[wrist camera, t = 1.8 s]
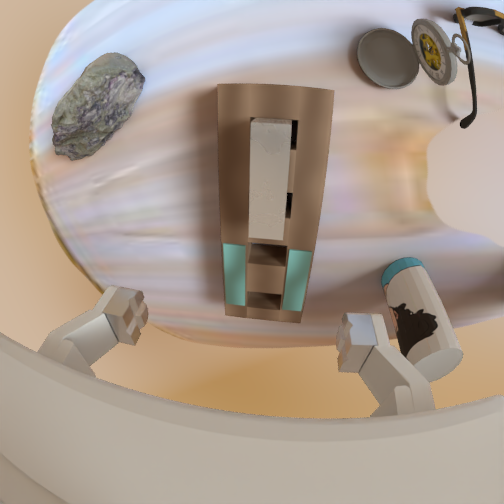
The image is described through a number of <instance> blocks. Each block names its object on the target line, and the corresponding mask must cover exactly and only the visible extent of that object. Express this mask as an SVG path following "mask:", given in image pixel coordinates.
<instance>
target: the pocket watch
mask: <svg viewBox="0 0 504 504" xmlns="http://www.w3.org/2000/svg"><path fill="white" fill-rule="evenodd" d="M411 35H412V42H413V44H411V43H410V42H409V41H408V40H407V39H406V38H405V37H404V36H403V35H401V34H400V33H398V32H396V31H394V30H390V29H386V28H378V29H374V30H372V31H369V32H367V33H366V34H365V35H364V36H363V37H362V39H361V40H360V42H359V43H358V48H357V56H358V61H359V64H360V66H361V68H362V70H363V72H364V73H365V75H367V76H368V78H370V79H371V80H372V81H373V82H374V83H376V84H378V85H380V86H382V87H385V88H388V89H400V88H404V87H406V86H408V85H410V84H411V83H412V82H413V81H414V80H415V79H416V76H417V74H418V71H419V63H420V64H421V66H422V68H423V69H424V71H425V72H426V74H427V75H428V76H429V77H430V78H431V79H432V80H433V81H434V82H435V83H437V84H438V85H447V84H450V83H451V82H453V81H454V79H455V78H456V74H457V60H456V57H458V59H459V60H460V61H461V62H462V63H463V64H466V65H467V64H469V63H470V58H471V55H470V50H469V47H468V45H467V43H466V41H465V40H464V39H463V38H462V37H461V36H460V35H459V34H454V35H453V37H452V43H451V42H450V40H449V38H448V36H447V35H446V33H445V32H444V31H443V30H442V28H441V27H440V26H439V25H438V24H436V23H435V22H433V21H431V20H427V19H417V20H416V21H414V23H413V25H412V32H411ZM456 37H459V38H460V39H461V40H462V41H463V42H464V44H465V46H466V48H467V52H468V59H467V61H463V60H462V59H461V58H460V57H459V56H460V52H461V48H460V47H459V46H457V44H455V38H456ZM427 38H428V39H427ZM427 43H428V45H429V48H430V47H431V48H430V49H429V50H428V45H427ZM432 50H433V51H432ZM430 54H431V55H430ZM433 60H434V61H435V62H434V61H433ZM440 60H441V63H440ZM437 61H438V63H437ZM437 64H438V66H437ZM439 66H440V67H439Z"/></svg>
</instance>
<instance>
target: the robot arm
mask: <svg viewBox="0 0 504 504" xmlns="http://www.w3.org/2000/svg"><path fill="white" fill-rule="evenodd" d="M143 299H144V295H143V292H142V291H140V290H135V289H129V288H124V287H118V286H114V285H111V286H109V287H108V288H107V289H106V291H105V292H104V294H103V295H102V296H101V298H100V299H99V301H98V302H97V304H96V305H95V307H94V308H93V310H88V311H86V312H85V313H83V314H81V315H79V316H78V317H76V318H74V319H72V320H71V321H69V322H67V323H65V324H64V325H62V326H60V327H59V328H57V329H55V330H53V331H52V332H50V334H49V335H48V337H47V338H46V340H45V341H44V343H43V344H42V346H41V347H40V349H39V350H38V352H35V351H33V350H31V349H29V348H27V347H25V346H23V345H22V344H20V343H18V342H16V341H14V340H12V339H10V338H9V337H7V336H5V335H4V334H2V333H0V504H504V396H502V395H495V396H491V397H487V398H485V399H480V400H477V401H473V402H469V403H464V404H460V405H456V406H451V407H446V408H441V409H435V404H434V400H433V395H432V391H431V387H430V383H429V382H428V380H427V379H426V378H425V377H424V376H423V375H422V374H421V373H420V372H419V371H418V370H417V369H416V368H415V367H414V366H413V365H412V364H411V363H410V362H409V361H408V360H407V359H406V358H405V357H404V356H403V355H402V354H401V353H400V352H399V351H398V350H397V349H396V348H395V347H394V346H390V342H389V338H388V334H387V330H386V327H385V323H384V319H383V316H382V314H374V313H369V314H368V313H347V312H345V314H344V315H343V318H342V323H343V324H342V325H341V326H339V329H338V332H337V338H336V346H337V350H338V351H339V352H340V354H339V356H338V370H339V372H354V373H355V372H356V373H359V375H360V377H361V378H362V380H363V381H364V382H365V384H366V385H367V387H368V388H369V390H370V391H371V392H372V394H373V395H374V397H375V398H376V400H377V401H378V403H379V404H380V406H379V407H378V408H377V409H376V410H375V411H374V412H373V413H372V415H371V416H370V417H367V418H343V419H314V418H313V419H312V418H289V417H275V416H264V415H255V414H246V413H238V412H231V411H224V410H218V409H212V408H207V407H201V406H196V405H191V404H186V403H182V402H177V401H173V400H168V399H164V398H160V397H157V396H153V395H149V394H145V393H142V392H138V391H135V390H131V389H128V388H125V387H122V386H119V385H116V384H113V383H109V382H107V381H104V380H101V379H98V378H96V376H95V373H94V372H93V370H92V369H91V368H90V366H91V365H92V364H93V363H94V362H95V361H97V360H98V359H99V358H101V357H102V356H103V355H104V354H105V353H107V352H108V351H109V350H110V349H112V348H113V347H114V346H115V345H116V344H118V342H121V343H125V344H130V345H136V343H137V341H138V339H139V337H140V335H141V333H140V329H141V328H142V327H144V326H145V324H146V322H147V319H148V308H147V305H146V304H145V303H144V302H143Z"/></svg>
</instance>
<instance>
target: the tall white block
mask: <svg viewBox="0 0 504 504" xmlns="http://www.w3.org/2000/svg"><path fill="white" fill-rule="evenodd" d="M291 130H292V120H287V119H273V118H255V119H254V120H253V121H252V122H251V136H250V188H249V237H250V238H261V239H273V240H283V233H284V222H285V211H286V199H287V186H288V174H289V160H290V145H291Z"/></svg>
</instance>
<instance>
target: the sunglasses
mask: <svg viewBox="0 0 504 504" xmlns="http://www.w3.org/2000/svg"><path fill="white" fill-rule="evenodd" d="M455 10H456V14H454V15H453V17H454V20H455V22H456V23H459V25H460V30H461V34H462V38H463V39H464V40H465V41H466V43H467V45H468V47H469V50H470V55H471V58H470V63H469V64H468V71H469V79H470V84H471V89H472V98H473V111H472V113H471V114H470V115H468V116H467V117H465V118H464V119H462V120H461V121H460V127H461V128H464V129H465V128H467V127H468V126H469V125H470V124H471V123H472V122H473V120H474V119H475V117H476V114H477V97H476V84H475V74H474V66H473V59H472V53H471V47H470V42H469V37H468V33H467V29H466V25H465V21H464V19H467V20H472V21H474V22H473V24H472V25H475V26H481V27H483V26H491V25H498V29H499V31H500V33H501V34H502V35H504V14H503V13H501V12H498V11H496V10H494V9H489V8H483V7H469V8H466V9H464V8H460V7H458V8H456V9H455ZM463 43H464V42H463ZM464 48H465V53H466V58H467V59H468V52H467V48H466V46H465V44H464Z"/></svg>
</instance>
